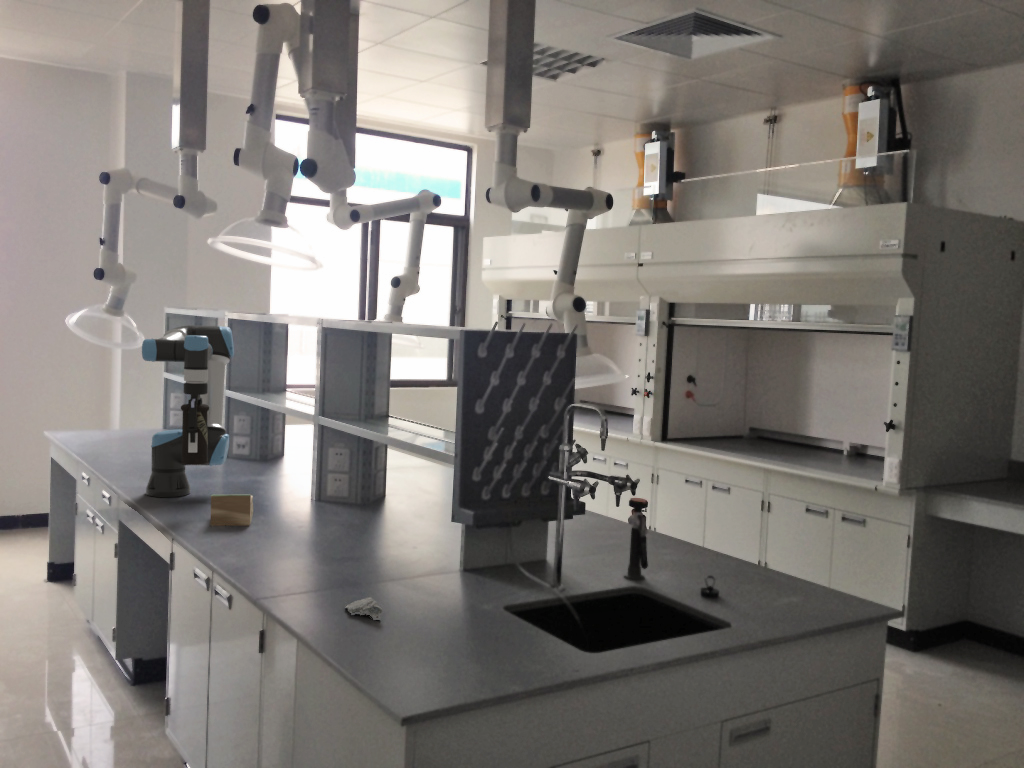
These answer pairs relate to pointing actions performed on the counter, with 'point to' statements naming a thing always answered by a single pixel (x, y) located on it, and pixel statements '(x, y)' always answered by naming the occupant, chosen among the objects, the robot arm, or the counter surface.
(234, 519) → the stand
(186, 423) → the container
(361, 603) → the stone
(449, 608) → the counter surface
